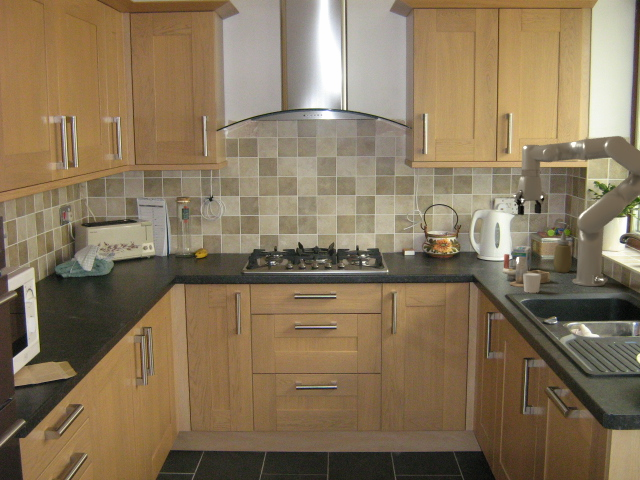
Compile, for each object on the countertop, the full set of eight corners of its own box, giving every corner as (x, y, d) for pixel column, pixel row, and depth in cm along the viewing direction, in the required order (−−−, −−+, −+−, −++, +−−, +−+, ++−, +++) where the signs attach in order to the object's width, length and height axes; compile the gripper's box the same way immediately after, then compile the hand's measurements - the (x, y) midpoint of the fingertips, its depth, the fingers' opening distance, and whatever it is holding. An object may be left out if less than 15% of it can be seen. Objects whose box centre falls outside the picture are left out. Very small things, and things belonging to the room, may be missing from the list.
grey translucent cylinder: (524, 284, 298) (525, 258, 296) (515, 283, 299) (516, 257, 297) (524, 282, 301) (525, 256, 300) (515, 282, 302) (516, 256, 301)
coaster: (537, 285, 298) (537, 284, 297) (520, 288, 293) (520, 286, 293) (521, 281, 305) (521, 280, 305) (505, 284, 301) (505, 282, 301)
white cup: (531, 288, 292) (532, 271, 291) (544, 291, 286) (544, 274, 285) (518, 290, 289) (519, 273, 288) (531, 293, 283) (532, 276, 282)
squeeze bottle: (572, 273, 322) (574, 234, 319) (553, 273, 323) (555, 233, 321) (570, 270, 330) (571, 231, 327) (551, 269, 331) (553, 231, 329)
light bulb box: (527, 273, 325) (528, 249, 323) (512, 272, 328) (512, 248, 326) (531, 268, 334) (531, 246, 333) (516, 267, 337) (516, 245, 336)
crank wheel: (519, 275, 302) (519, 257, 301) (499, 273, 308) (499, 255, 307) (527, 272, 309) (528, 254, 308) (508, 269, 315) (508, 252, 314)
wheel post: (521, 280, 308) (522, 273, 308) (513, 281, 306) (513, 274, 305) (513, 278, 312) (513, 271, 312) (504, 279, 310) (505, 273, 310)
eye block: (549, 281, 305) (549, 272, 304) (537, 283, 302) (537, 274, 301) (537, 279, 311) (537, 270, 310) (525, 280, 308) (525, 271, 307)
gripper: (539, 172, 312) (537, 212, 315) (508, 174, 304) (507, 214, 307) (552, 173, 306) (550, 213, 308) (521, 175, 298) (520, 216, 300)
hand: (529, 214), depth 307 cm, fingers open, 9 cm apart
